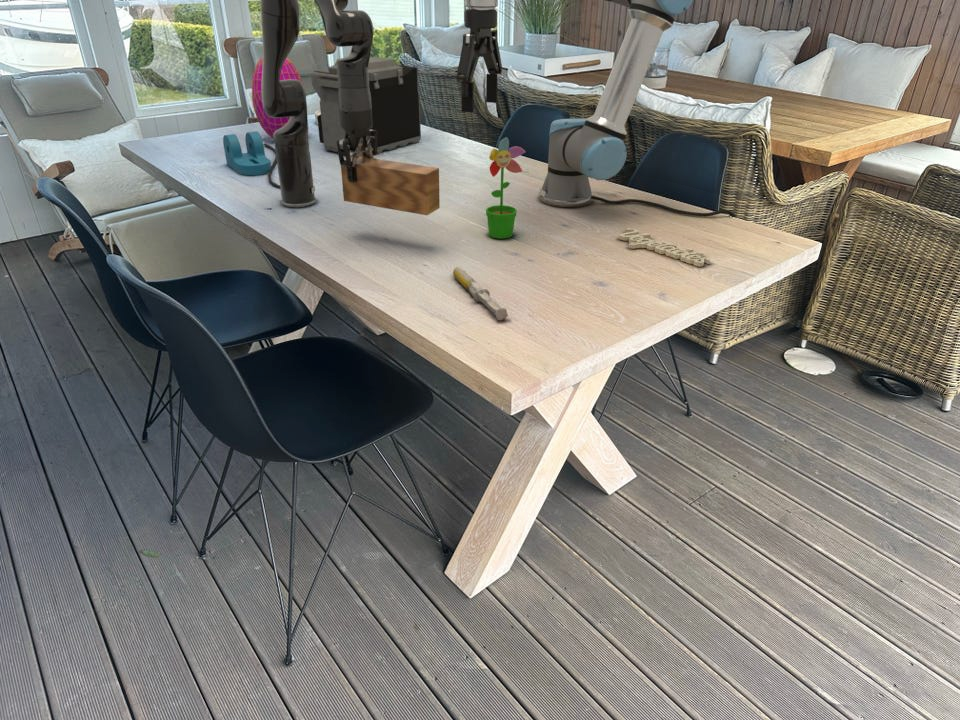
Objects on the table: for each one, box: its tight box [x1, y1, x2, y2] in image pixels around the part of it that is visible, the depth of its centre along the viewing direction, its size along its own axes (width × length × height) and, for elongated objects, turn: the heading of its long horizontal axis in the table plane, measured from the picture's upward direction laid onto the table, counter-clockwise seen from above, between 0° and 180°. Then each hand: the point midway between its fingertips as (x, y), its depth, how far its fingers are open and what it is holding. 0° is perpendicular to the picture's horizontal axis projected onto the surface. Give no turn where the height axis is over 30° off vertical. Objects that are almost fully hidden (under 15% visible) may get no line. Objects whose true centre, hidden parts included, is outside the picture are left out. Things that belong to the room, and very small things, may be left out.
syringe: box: [452, 266, 509, 321], centre depth 145 cm, size 25×4×3 cm, turn 21°
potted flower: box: [485, 136, 527, 239], centre depth 171 cm, size 9×8×25 cm
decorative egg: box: [251, 57, 304, 140], centre depth 257 cm, size 19×19×30 cm
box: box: [340, 156, 441, 216], centre depth 165 cm, size 24×6×10 cm, turn 65°
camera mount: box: [222, 131, 272, 176], centre depth 226 cm, size 18×10×10 cm, turn 35°
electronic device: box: [310, 56, 422, 157], centre depth 250 cm, size 37×22×30 cm, turn 144°
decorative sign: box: [618, 227, 711, 267], centre depth 169 cm, size 26×1×10 cm
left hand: (360, 178), depth 168 cm, fingers closed on box, 6 cm apart
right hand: (479, 107), depth 166 cm, fingers open, 13 cm apart
